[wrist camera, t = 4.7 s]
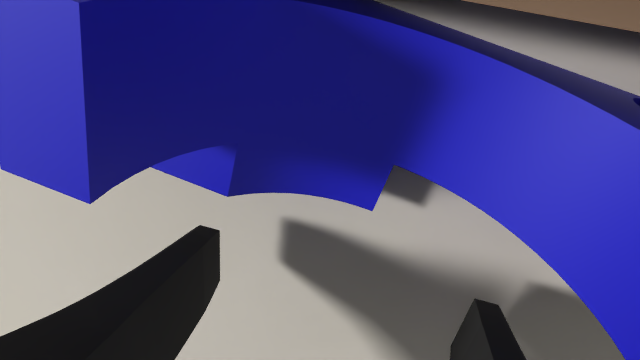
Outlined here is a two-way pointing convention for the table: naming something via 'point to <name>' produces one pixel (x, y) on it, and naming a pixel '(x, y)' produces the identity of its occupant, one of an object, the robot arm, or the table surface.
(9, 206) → the table surface
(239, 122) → the blue notched arch
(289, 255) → the table surface
